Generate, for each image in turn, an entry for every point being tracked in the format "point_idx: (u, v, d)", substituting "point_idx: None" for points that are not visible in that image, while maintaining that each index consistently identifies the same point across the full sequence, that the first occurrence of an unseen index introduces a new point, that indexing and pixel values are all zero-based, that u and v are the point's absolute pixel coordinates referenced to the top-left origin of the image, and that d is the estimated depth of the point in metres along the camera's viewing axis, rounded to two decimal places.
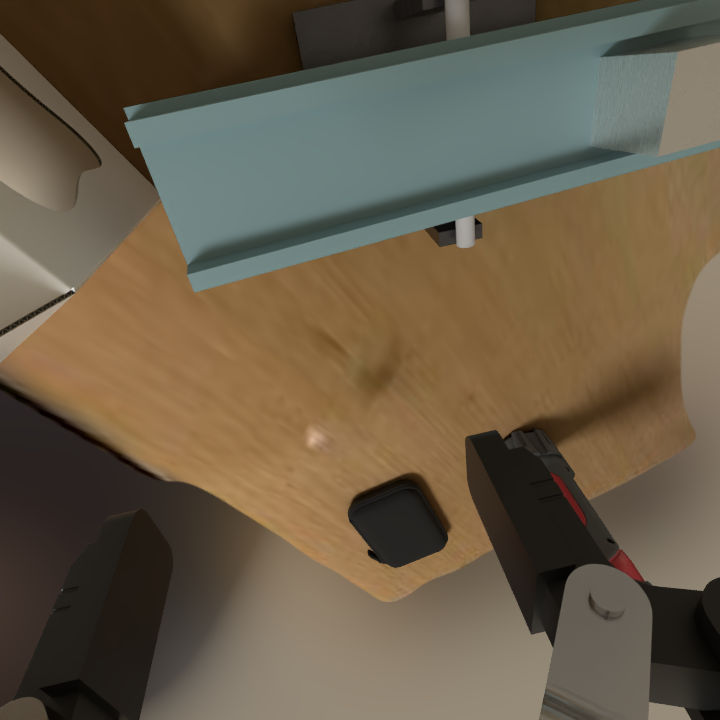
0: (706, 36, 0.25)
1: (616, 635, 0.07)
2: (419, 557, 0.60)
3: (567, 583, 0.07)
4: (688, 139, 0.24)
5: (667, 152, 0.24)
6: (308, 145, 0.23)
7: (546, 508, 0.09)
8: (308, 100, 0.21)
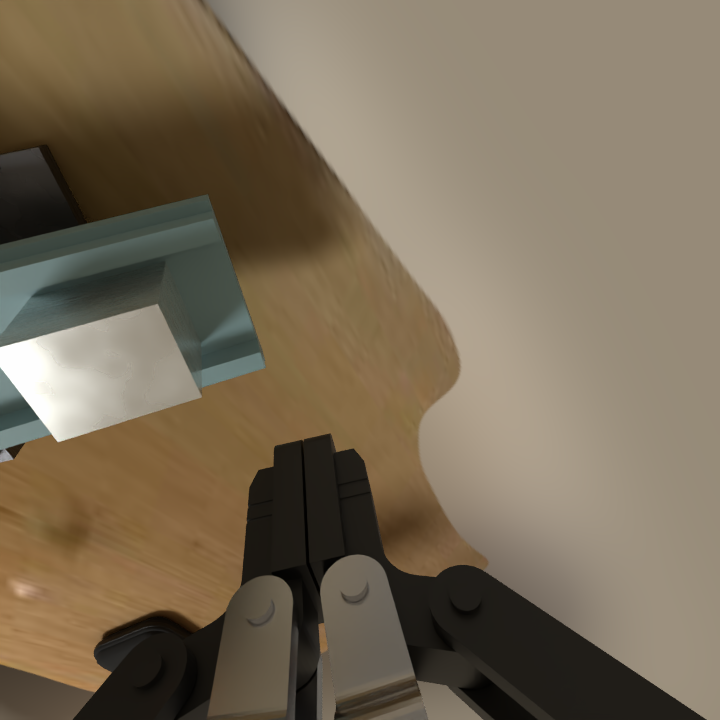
0: (151, 276, 0.20)
1: (369, 610, 0.07)
2: None
3: (328, 571, 0.08)
4: (96, 419, 0.19)
5: (71, 436, 0.19)
6: None
7: (350, 505, 0.10)
8: None
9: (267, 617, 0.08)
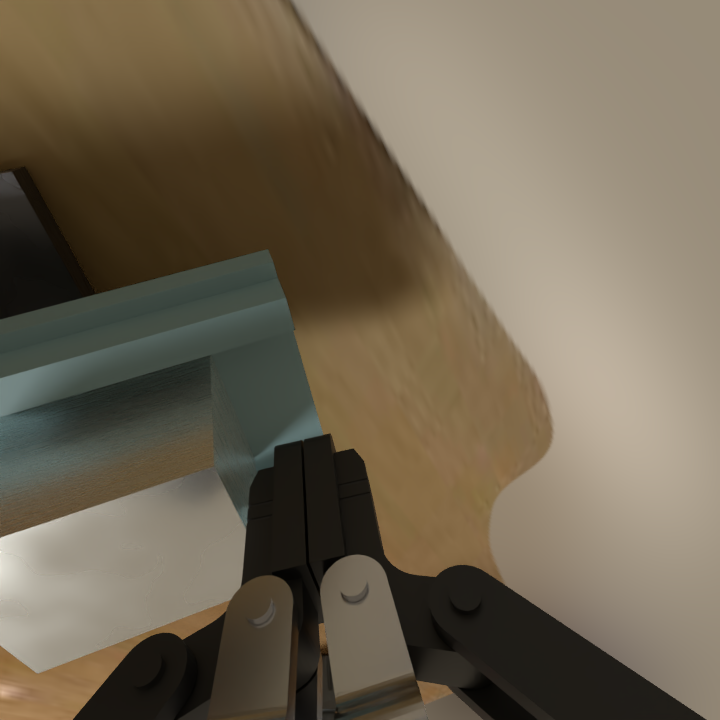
0: (190, 386, 0.12)
1: (369, 610, 0.07)
2: None
3: (327, 572, 0.08)
4: (101, 636, 0.11)
5: (59, 662, 0.11)
6: None
7: (350, 505, 0.10)
8: None
9: (267, 616, 0.08)
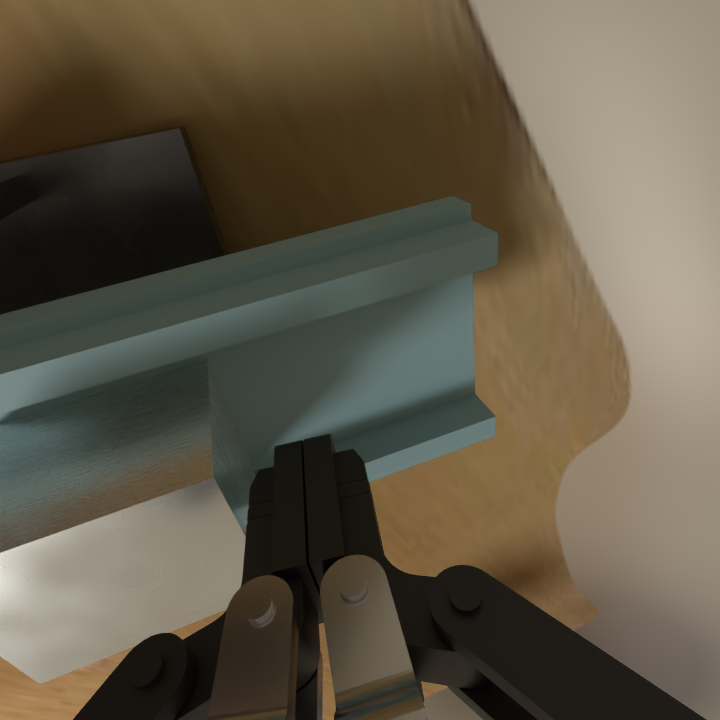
0: (188, 394, 0.12)
1: (369, 610, 0.07)
2: None
3: (327, 572, 0.08)
4: (103, 646, 0.11)
5: (62, 672, 0.11)
6: None
7: (349, 505, 0.10)
8: None
9: (267, 616, 0.08)
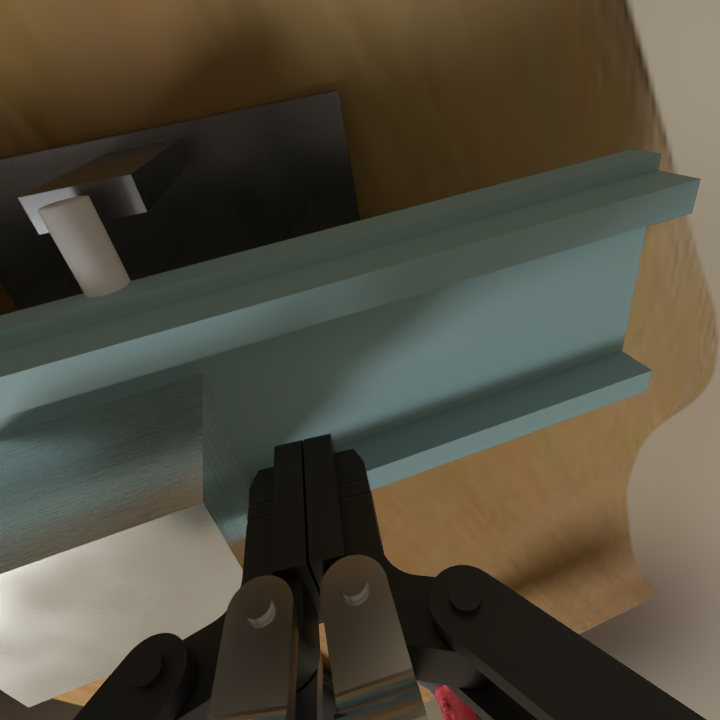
0: (182, 411, 0.12)
1: (369, 610, 0.07)
2: None
3: (327, 572, 0.08)
4: (93, 669, 0.11)
5: (50, 696, 0.11)
6: None
7: (349, 505, 0.10)
8: None
9: (267, 617, 0.08)
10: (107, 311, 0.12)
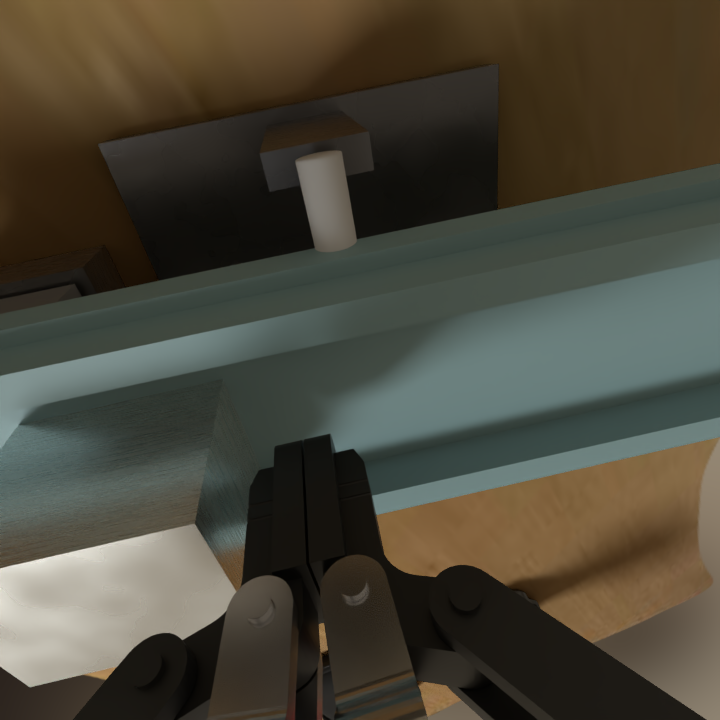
0: (195, 418, 0.12)
1: (369, 610, 0.07)
2: None
3: (327, 572, 0.08)
4: (89, 662, 0.11)
5: (50, 680, 0.11)
6: None
7: (349, 505, 0.10)
8: None
9: (267, 617, 0.08)
10: (344, 266, 0.12)
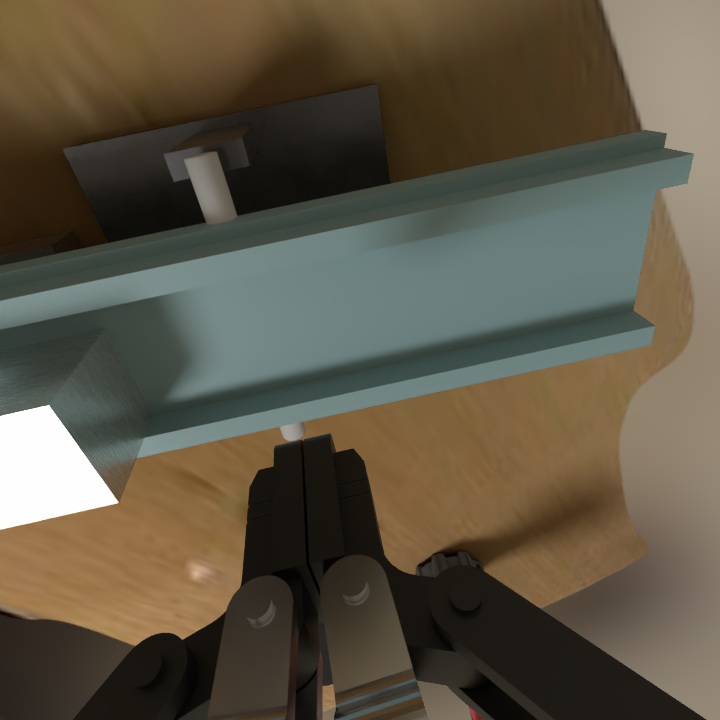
0: (75, 351, 0.17)
1: (369, 610, 0.07)
2: None
3: (327, 572, 0.08)
4: None
5: None
6: None
7: (350, 505, 0.10)
8: None
9: (267, 616, 0.08)
10: (221, 233, 0.17)
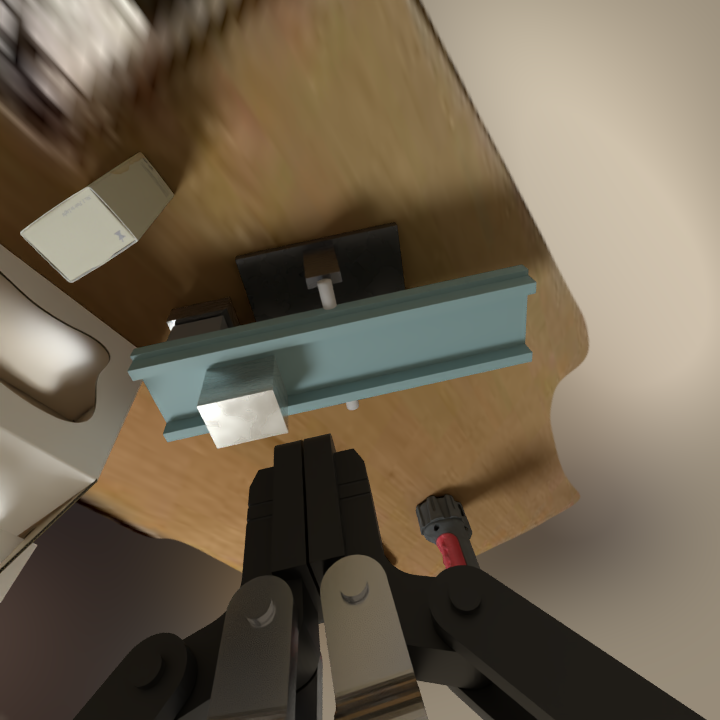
0: (267, 366, 0.38)
1: (369, 610, 0.07)
2: None
3: (327, 572, 0.08)
4: (236, 439, 0.37)
5: (223, 446, 0.37)
6: None
7: (350, 505, 0.10)
8: (227, 356, 0.37)
9: (266, 616, 0.08)
10: (332, 314, 0.38)
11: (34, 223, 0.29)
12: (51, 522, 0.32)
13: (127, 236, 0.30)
